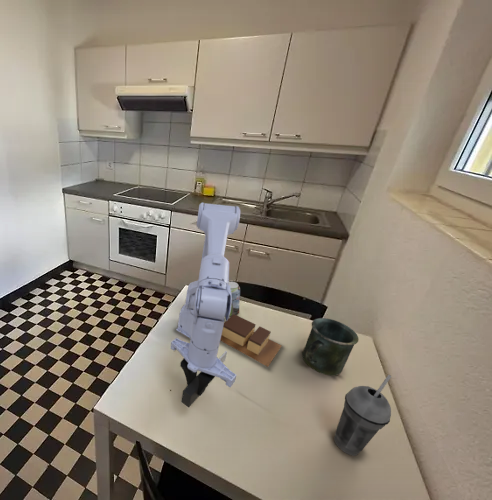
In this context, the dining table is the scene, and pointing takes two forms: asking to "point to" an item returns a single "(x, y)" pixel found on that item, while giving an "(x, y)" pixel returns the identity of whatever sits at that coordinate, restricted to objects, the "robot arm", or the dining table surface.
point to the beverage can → (235, 298)
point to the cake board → (263, 357)
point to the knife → (195, 388)
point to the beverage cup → (362, 418)
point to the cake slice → (258, 340)
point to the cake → (238, 329)
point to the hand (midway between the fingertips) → (195, 388)
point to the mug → (329, 346)
